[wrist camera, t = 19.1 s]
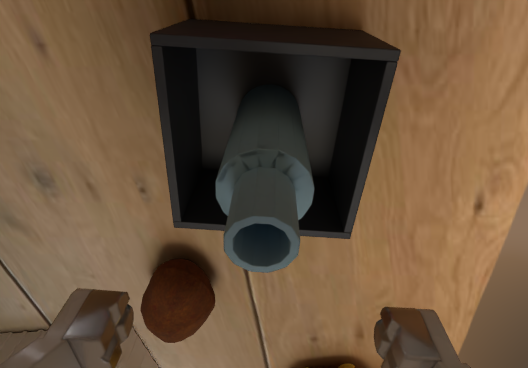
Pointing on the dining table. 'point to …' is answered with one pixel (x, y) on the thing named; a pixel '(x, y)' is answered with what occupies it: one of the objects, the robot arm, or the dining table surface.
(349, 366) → the teapot
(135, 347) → the white box
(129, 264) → the dining table surface
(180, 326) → the potato
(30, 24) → the dining table surface
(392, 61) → the box
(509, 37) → the dining table surface
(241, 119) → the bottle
